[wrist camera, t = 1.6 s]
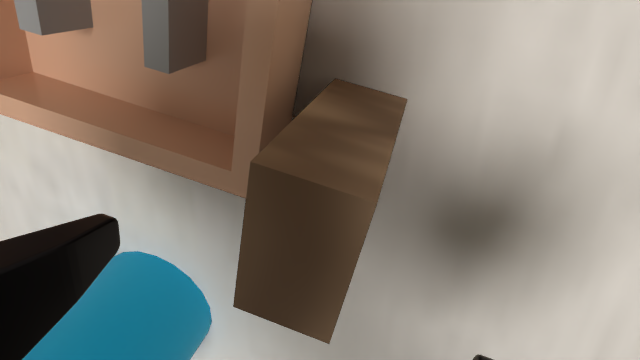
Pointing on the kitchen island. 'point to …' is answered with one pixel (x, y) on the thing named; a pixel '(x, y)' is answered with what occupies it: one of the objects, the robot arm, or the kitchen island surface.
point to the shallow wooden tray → (157, 78)
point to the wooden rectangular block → (314, 207)
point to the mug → (131, 315)
